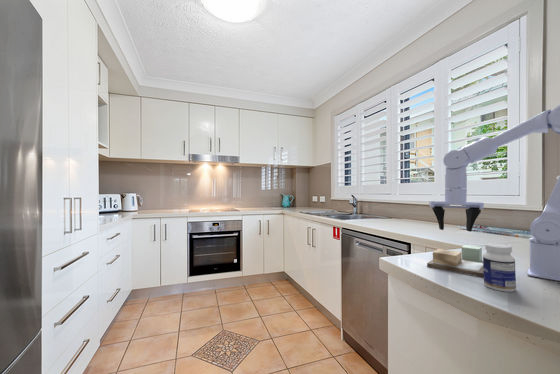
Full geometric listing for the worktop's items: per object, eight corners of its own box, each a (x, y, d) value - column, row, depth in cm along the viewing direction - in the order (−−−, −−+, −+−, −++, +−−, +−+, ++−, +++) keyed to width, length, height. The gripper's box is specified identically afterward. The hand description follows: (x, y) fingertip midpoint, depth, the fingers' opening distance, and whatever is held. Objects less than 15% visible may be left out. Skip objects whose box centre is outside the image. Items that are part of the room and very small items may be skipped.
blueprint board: (494, 267, 73) (493, 253, 73) (487, 278, 64) (486, 262, 64) (439, 258, 83) (438, 246, 83) (427, 266, 75) (426, 252, 75)
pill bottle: (483, 281, 62) (482, 241, 62) (515, 286, 59) (513, 244, 59) (483, 288, 58) (482, 245, 58) (517, 294, 54) (516, 248, 54)
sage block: (482, 260, 80) (481, 246, 80) (479, 263, 77) (479, 249, 77) (465, 258, 84) (464, 244, 84) (461, 261, 80) (461, 247, 81)
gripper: (476, 188, 82) (476, 229, 82) (427, 188, 87) (426, 226, 87) (487, 188, 75) (486, 233, 75) (432, 188, 80) (432, 230, 80)
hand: (455, 230), depth 81 cm, fingers open, 7 cm apart
